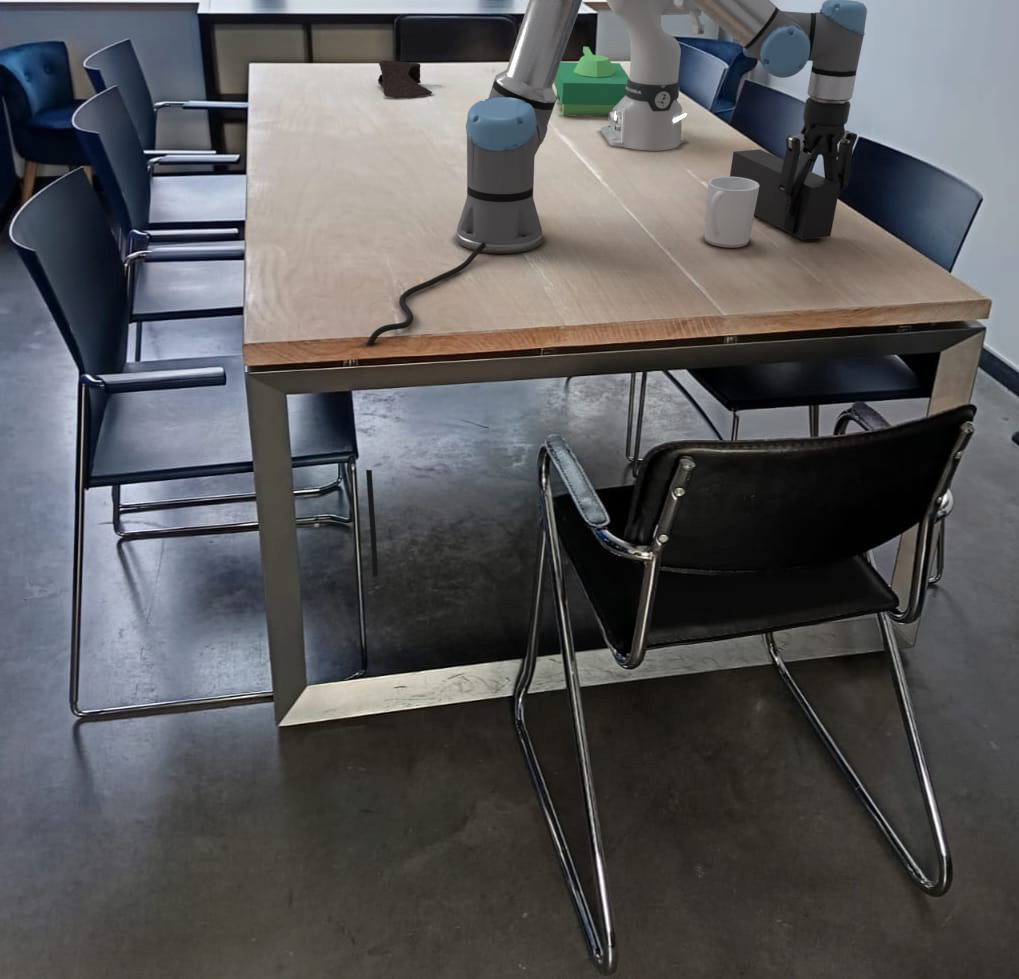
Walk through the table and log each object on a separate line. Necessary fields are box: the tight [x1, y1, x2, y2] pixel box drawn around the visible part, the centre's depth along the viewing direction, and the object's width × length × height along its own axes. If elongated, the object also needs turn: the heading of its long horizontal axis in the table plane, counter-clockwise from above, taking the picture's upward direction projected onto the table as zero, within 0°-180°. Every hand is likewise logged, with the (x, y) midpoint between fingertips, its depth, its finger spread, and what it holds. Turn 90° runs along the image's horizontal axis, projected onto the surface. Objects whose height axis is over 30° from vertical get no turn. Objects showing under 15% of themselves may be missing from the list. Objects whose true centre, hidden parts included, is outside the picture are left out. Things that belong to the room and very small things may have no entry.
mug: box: [703, 176, 759, 249], centre depth 194 cm, size 11×9×10 cm
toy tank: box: [553, 46, 630, 117], centre depth 288 cm, size 18×12×35 cm
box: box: [729, 148, 840, 241], centre depth 205 cm, size 25×6×10 cm, turn 23°
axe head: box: [377, 59, 433, 99], centre depth 299 cm, size 18×8×15 cm
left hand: (805, 229), depth 200 cm, fingers closed on box, 6 cm apart
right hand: (718, 32), depth 218 cm, fingers open, 8 cm apart
